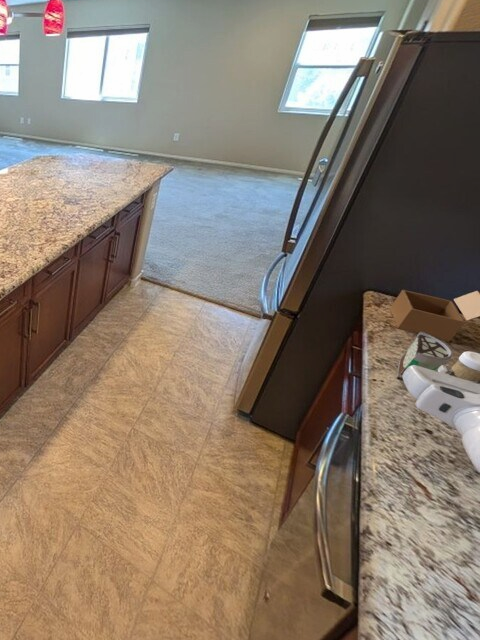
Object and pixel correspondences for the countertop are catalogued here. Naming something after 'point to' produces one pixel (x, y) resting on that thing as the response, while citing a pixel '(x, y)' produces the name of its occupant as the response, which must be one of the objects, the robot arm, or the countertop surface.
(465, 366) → the sprinkles bottle
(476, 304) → the flap
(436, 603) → the countertop surface
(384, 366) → the countertop surface
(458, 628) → the countertop surface
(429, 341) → the food container
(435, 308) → the carton
